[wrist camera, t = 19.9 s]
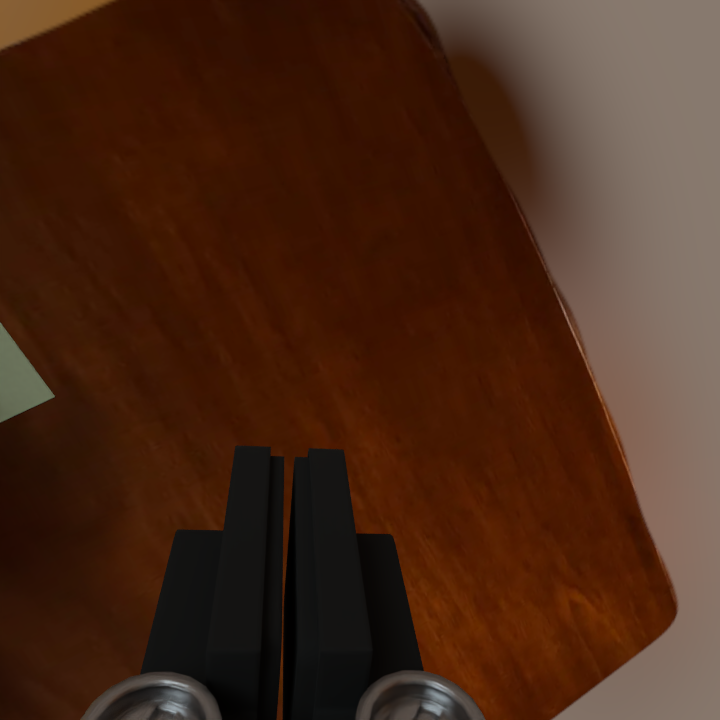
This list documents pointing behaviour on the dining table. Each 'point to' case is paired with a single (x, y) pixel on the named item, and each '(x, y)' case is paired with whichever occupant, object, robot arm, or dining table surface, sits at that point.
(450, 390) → the dining table surface
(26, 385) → the edge mat
